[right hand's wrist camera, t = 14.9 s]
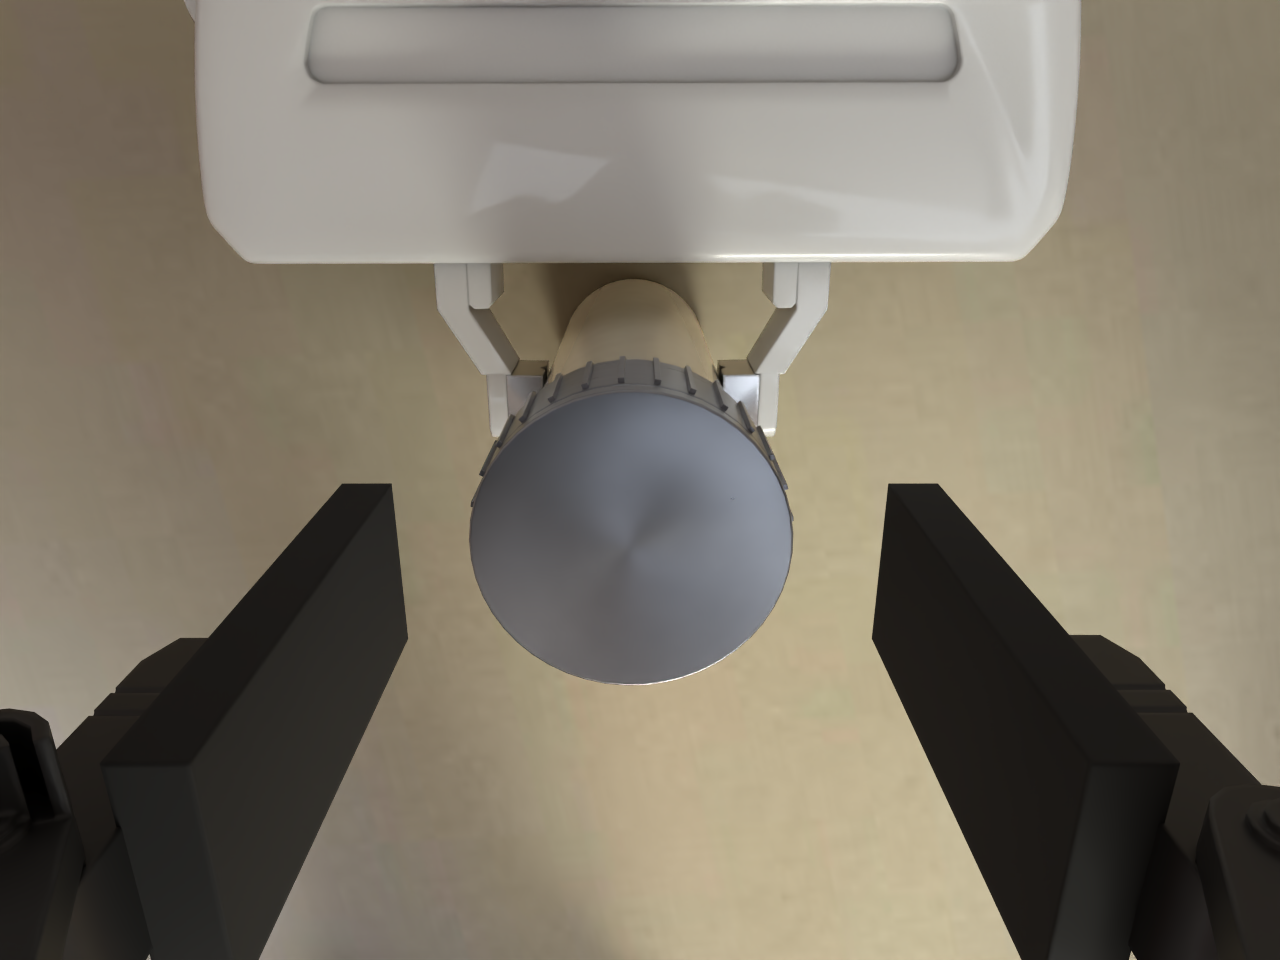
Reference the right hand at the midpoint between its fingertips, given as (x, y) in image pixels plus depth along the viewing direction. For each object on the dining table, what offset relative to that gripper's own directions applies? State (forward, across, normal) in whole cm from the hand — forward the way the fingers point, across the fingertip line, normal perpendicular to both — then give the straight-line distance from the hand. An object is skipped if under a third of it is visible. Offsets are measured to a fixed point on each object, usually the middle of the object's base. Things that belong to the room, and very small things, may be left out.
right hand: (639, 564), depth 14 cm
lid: (+1, 0, 0) cm, 1 cm away
